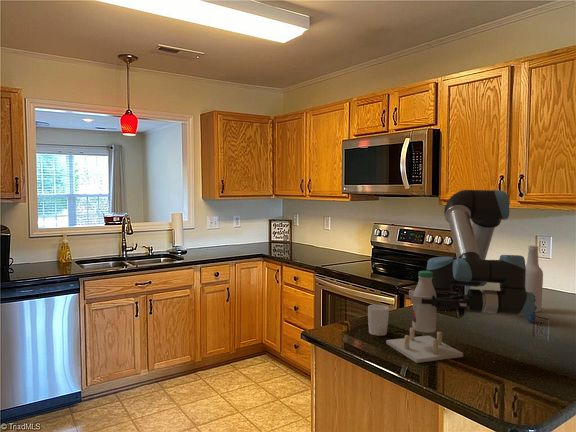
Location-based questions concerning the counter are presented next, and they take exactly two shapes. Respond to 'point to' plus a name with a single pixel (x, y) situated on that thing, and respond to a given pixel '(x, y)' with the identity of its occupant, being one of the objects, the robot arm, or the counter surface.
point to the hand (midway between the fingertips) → (410, 296)
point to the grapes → (531, 316)
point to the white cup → (378, 319)
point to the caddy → (424, 348)
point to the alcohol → (534, 276)
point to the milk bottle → (424, 313)
